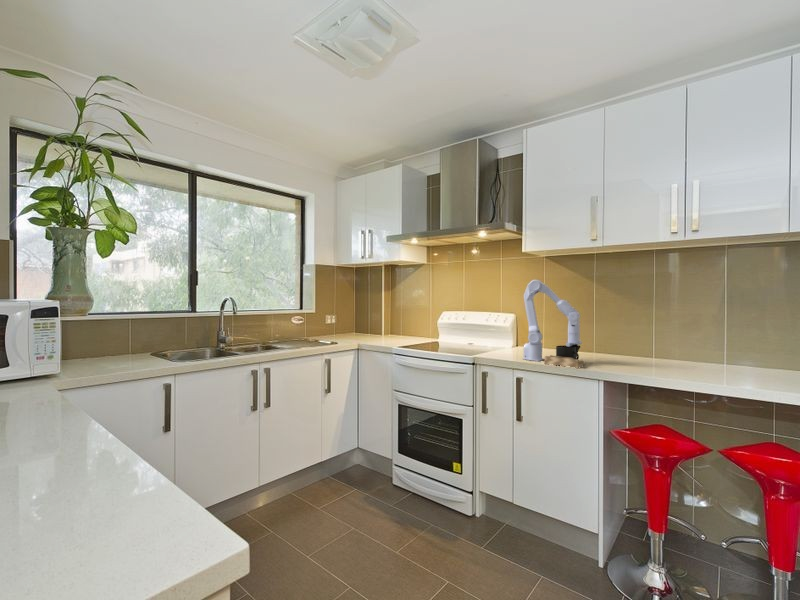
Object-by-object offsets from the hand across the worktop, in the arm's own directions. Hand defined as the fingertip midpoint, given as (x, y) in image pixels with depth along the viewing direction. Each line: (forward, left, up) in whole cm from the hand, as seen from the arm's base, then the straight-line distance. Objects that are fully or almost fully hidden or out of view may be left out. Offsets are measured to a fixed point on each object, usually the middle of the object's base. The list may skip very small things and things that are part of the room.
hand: (573, 359), depth 212 cm
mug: (0, -7, -2) cm, 8 cm away
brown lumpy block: (0, -12, -2) cm, 12 cm away
